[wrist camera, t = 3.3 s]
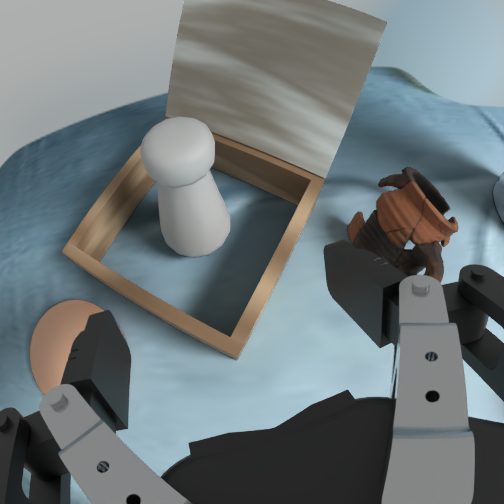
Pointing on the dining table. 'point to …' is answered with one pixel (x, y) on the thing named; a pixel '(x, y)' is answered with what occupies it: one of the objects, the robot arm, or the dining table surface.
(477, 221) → the dining table surface
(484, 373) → the robot arm
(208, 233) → the salt shaker
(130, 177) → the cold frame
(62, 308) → the terracotta saucer
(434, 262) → the pottery mug
